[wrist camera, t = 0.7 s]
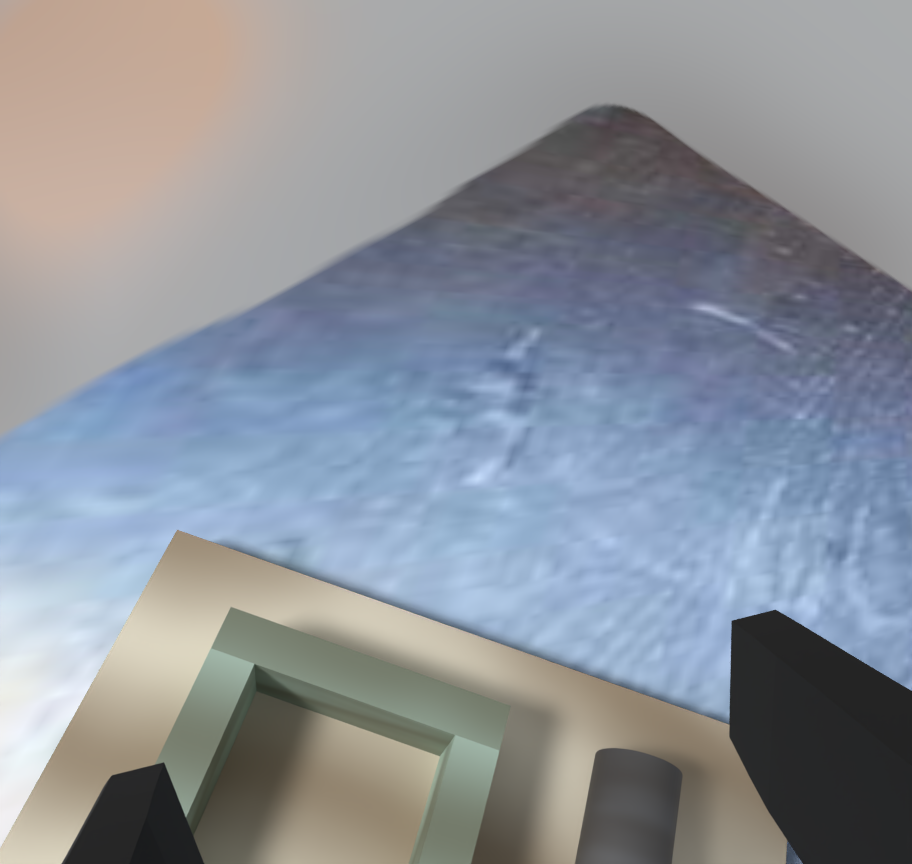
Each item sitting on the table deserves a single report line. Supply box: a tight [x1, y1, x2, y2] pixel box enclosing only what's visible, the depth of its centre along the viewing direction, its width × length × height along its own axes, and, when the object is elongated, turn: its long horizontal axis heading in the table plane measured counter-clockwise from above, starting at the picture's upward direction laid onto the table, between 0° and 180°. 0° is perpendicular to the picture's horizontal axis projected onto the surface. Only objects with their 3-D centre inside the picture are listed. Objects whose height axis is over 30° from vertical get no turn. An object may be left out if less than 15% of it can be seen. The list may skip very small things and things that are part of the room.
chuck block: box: [0, 530, 787, 864], centre depth 22 cm, size 13×20×4 cm, turn 74°
